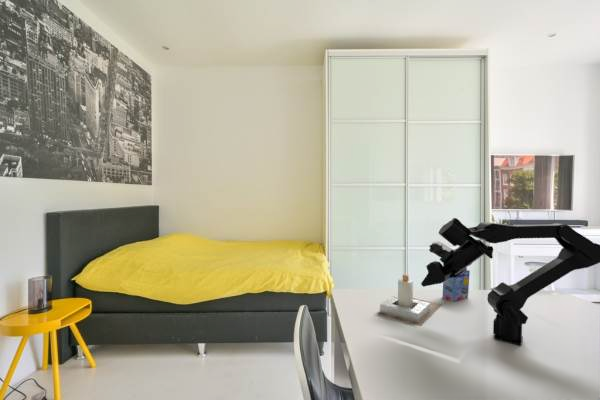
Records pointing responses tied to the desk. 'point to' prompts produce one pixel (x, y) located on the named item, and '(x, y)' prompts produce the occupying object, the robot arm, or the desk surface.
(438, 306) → the mount board
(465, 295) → the ink cartridge box
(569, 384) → the desk surface
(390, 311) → the grey square frame
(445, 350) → the desk surface
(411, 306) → the white bottle
